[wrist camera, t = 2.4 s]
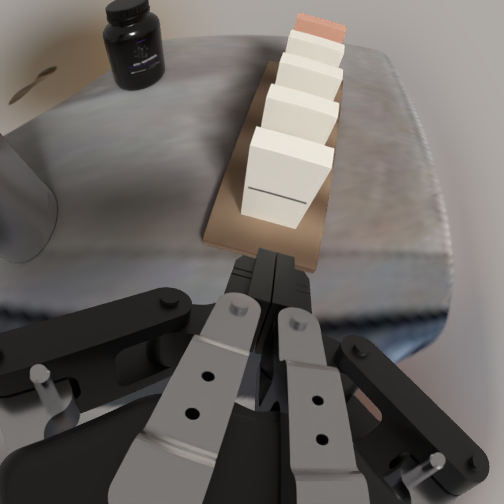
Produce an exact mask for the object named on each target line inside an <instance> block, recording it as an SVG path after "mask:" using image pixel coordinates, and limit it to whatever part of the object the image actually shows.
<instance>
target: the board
mask: <svg viewBox="0 0 504 504" xmlns="http://www.w3.org/2000/svg"><path fill="white" fill-rule="evenodd" d="M279 63H280V62H277V61H273V60H269V61H268V64H267V66H266V69H265V71H264V73H263V76H262V78H261V81H260V83H259V86H258V88H257V91H256V93H255V96H254V98H253V101H252V103H251V106H250V108H249V111H248V113H247V116H246V119H245V121H244V124H243V126H242V129H241V132H240V134H239V137H238V140H237V142H236V145H235V148H234V150H233V153H232V156H231V158H230V161H229V164H228V167H227V169H226V172H225V175H224V178H223V181H222V184H221V186H220V189H219V192H218V195H217V198H216V201H215V204H214V207H213V210H212V212H211V215H210V218H209V221H208V224H207V227H206V230H205V233H204V237H203V244H206V245H210V246H213V247H217V248H221V249H224V250H228V251H232V252H235V253H239V254H243V255H246V256H250V257H254V258H256V256H257V252H258V249H259V247H260V248H264V249H267V250H271V251H275V252H276V254H277V252H279V253H282V254H286V255H290V256H293V257H295V269H298V270H302V271H306V272H309V273H313V272H314V271H315V270H316V267H317V262H318V257H319V252H320V246H321V241H322V235H323V230H324V224H325V218H326V212H327V206H328V199H329V193H330V186H331V180H332V173H333V166H334V158H335V151H336V143H337V135H338V126H339V117H340V108H341V98H342V87H343V80H342V82H341V84H340V86H339V89H338V91H337V93H336V96H335V98H334V100H333V101H334V102H337V103H339V112H338V119H337V121H336V123H335V125H334V127H333V129H332V131H331V133H330V135H329V137H328V139H327V141H326V143H325V146H328V147H331V148H334V156H333V163H332V169H331V171H330V172H329V174H328V176H327V177H326V179H325V181H324V183H323V184H322V186H321V188H320V189H319V191H318V193H317V194H316V196H315V198H314V199H313V201H312V203H311V204H310V206H309V208H308V209H307V211H306V213H305V214H304V216H303V218H302V219H301V221H300V223H299V224H298V226H297V228H296V229H293V228H290V227H286V226H283V225H279V224H275V223H272V222H268V221H264V220H261V219H257V218H253V217H250V216H246V215H242V214H241V207H242V200H243V192H244V185H245V178H246V170H247V163H248V156H249V149H250V144H251V141H252V138H253V135H254V132H255V129H256V126H257V127H261V124H262V118H263V113H264V107H265V102H266V97H267V94H268V91H269V88H270V86H271V84H275V82H276V77H277V72H278V68H279Z"/></svg>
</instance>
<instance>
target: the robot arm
mask: <svg viewBox="0 0 504 504" xmlns="http://www.w3.org/2000/svg"><path fill="white" fill-rule="evenodd" d="M56 218H57V203H56V199H55V196H54V194H53V193H52V191H51V190H50V189H49V188H48V187H47V186H46V184H45V183H44V182H43V181H42V180H41V179H40V178H39V177H38V176H37V175H36V174H35V173H34V171H33V170H32V169H31V168H30V167H29V166H28V165H27V164H26V163H25V161H24V160H23V159H22V158H21V157H20V156H19V155H18V153H17V152H16V151H15V150H14V149H13V148H12V147H11V145H10V144H9V143H8V142H7V141H6V139H5V138H4V137H3V136H2V135H1V134H0V257H2V258H4V259H6V260H8V261H10V262H13V263H23V262H26V261H28V260H30V259H32V258H33V257H35V256H36V255H37V254H38V253H39V252H40V251H41V250H42V249H43V247H44V246H45V245H46V243H47V242H48V240H49V238H50V236H51V234H52V232H53V229H54V227H55V222H56ZM143 342H144V343H143ZM140 343H141V344H140ZM138 344H139V345H138ZM135 345H136V346H135ZM255 345H256V347H255ZM132 346H133V347H132ZM254 347H255V353H257V354H262V355H261V361H260V364H259V366H258V369H257V375H256V395H255V411H253V410H250V409H248V408H246V407H244V406H242V405H240V404H237V403H235V399H236V396H237V392H238V389H239V386H240V383H241V379H242V376H243V373H244V370H245V366H246V363H247V360H248V356H249V353H250V352H253V350H254ZM127 348H128V349H127ZM124 349H125V350H124ZM170 376H172V377H171V379H170V381H169V383H168V385H167V387H166V388H165V390H164V392H163V394H154V395H149V396H146V397H142V398H139V399H137V400H134V401H132V402H130V403H128V404H126V405H124V406H122V407H119V408H117V409H115V410H113V411H111V412H108V413H106V414H104V415H102V416H100V417H97V418H95V419H93V420H90V421H88V422H86V423H83V424H81V425H78V426H76V425H77V424H78V422H79V419H80V414H81V413H83V412H86V411H89V410H91V409H94V408H96V407H99V406H102V405H104V404H107V403H109V402H112V401H114V400H117V399H119V398H121V397H124V396H126V395H129V394H131V393H133V392H136V391H138V390H140V389H143V388H145V387H147V386H150V385H152V384H154V383H156V382H159V381H161V380H163V379H165V378H168V377H170ZM359 388H360V389H361V391H362V392H363V393H364V394H365V395H366V396H367V397H368V398H369V399H370V400H371V401H372V402H373V403H374V404H375V405H376V406H377V407H378V409H379V410H380V411H381V413H382V421H381V422H380V421H378V420H377V419H376V418H375V417H374V416H373V415H372V414H371V413H370V412H369V411H368V410H367V408H366V407H365V406H364V405H363V404H362V403H361V402H360V401H359V400H358V399H357V398H356V397H355V396H354V394H355V393H356V391H357V390H358V389H359ZM0 427H1V431H2V434H3V437H4V440H5V443H6V446H7V449H8V451H9V455H8V456H7V457H6V458H5V459H4V461H3V462H2V463H1V465H0V504H453V503H454V501H455V500H456V498H457V497H458V496H460V495H461V494H463V493H465V492H467V491H468V490H470V489H471V488H473V487H475V486H476V485H478V484H479V483H481V482H482V481H484V479H486V477H487V476H488V473H489V461H488V458H487V456H486V454H485V453H484V451H483V450H482V449H481V448H480V447H479V446H478V445H477V444H476V443H475V442H474V441H473V440H472V439H471V438H470V437H469V436H468V435H467V434H466V433H465V432H464V431H463V430H462V429H461V428H460V427H459V426H458V425H457V424H456V423H455V422H453V420H451V418H450V417H449V416H448V415H447V414H445V413H444V412H443V411H442V410H441V409H440V408H439V407H438V406H437V405H436V404H435V403H434V402H433V401H432V400H431V399H430V398H429V397H428V396H427V395H426V394H425V393H424V392H423V391H422V390H421V389H420V388H419V387H418V386H417V385H416V384H415V383H413V381H412V380H411V379H410V378H408V377H407V376H406V375H405V374H404V373H403V372H402V371H401V370H400V369H399V368H398V367H397V366H396V365H395V364H394V363H393V362H392V361H391V360H390V359H389V358H388V357H387V356H386V355H385V354H384V353H382V352H381V351H380V350H379V349H378V348H377V347H376V346H375V345H374V344H373V343H372V342H371V341H369V340H368V339H366V338H364V337H361V336H357V335H349V336H346V337H345V338H344V339H343V340H342V342H339V341H337V340H334V339H332V338H330V337H328V336H326V335H325V334H323V333H322V332H321V331H320V325H319V322H318V320H317V319H316V318H315V317H314V316H313V315H312V309H311V295H310V282H309V278H308V277H307V275H306V274H305V272H304V271H300V270H297V269H295V257H293V256H290V255H286V254H282V253H279V252H277V254H276V252H275V251H271V250H267V249H264V248H260V247H259V249H258V252H257V256H256V259H255V258H252V257H248V256H244V255H243V256H242V257H240V258H238V259H237V260H236V262H235V265H234V268H233V270H232V273H231V276H230V279H229V281H228V284H227V287H226V290H225V293H224V295H222V296H220V297H219V299H218V300H217V302H216V303H213V304H209V305H195V304H192V301H191V299H190V297H189V296H188V295H187V294H186V293H184V292H183V291H181V290H178V289H175V288H169V287H164V288H158V289H154V290H151V291H147V292H144V293H140V294H137V295H133V296H130V297H126V298H123V299H120V300H116V301H113V302H109V303H106V304H102V305H99V306H95V307H92V308H88V309H85V310H81V311H78V312H74V313H70V314H67V315H63V316H60V317H56V318H53V319H49V320H46V321H42V322H38V323H35V324H31V325H28V326H24V327H21V328H17V329H13V330H10V331H6V332H2V333H0Z"/></svg>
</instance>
